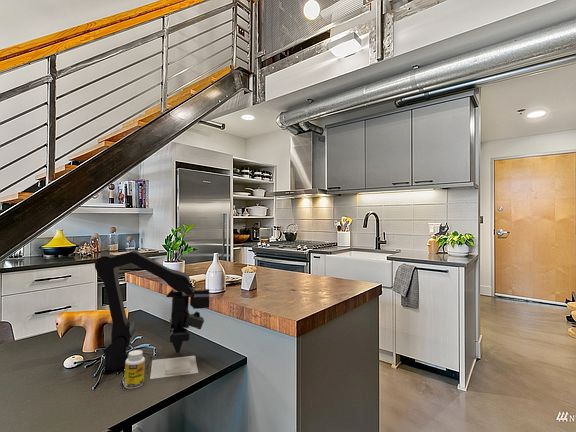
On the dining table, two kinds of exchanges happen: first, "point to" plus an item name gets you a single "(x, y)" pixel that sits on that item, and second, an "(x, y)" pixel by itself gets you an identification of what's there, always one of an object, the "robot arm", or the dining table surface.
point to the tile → (177, 366)
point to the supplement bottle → (134, 369)
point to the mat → (159, 367)
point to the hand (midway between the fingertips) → (177, 352)
